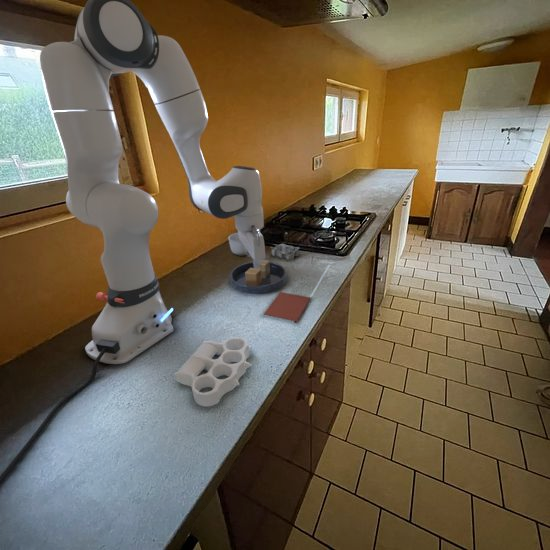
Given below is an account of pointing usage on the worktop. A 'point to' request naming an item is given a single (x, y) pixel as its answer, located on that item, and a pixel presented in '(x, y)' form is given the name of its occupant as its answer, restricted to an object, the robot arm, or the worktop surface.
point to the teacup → (236, 245)
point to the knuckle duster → (214, 369)
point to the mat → (288, 306)
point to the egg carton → (285, 251)
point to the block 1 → (253, 277)
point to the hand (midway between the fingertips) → (252, 262)
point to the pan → (268, 283)
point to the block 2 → (264, 268)
